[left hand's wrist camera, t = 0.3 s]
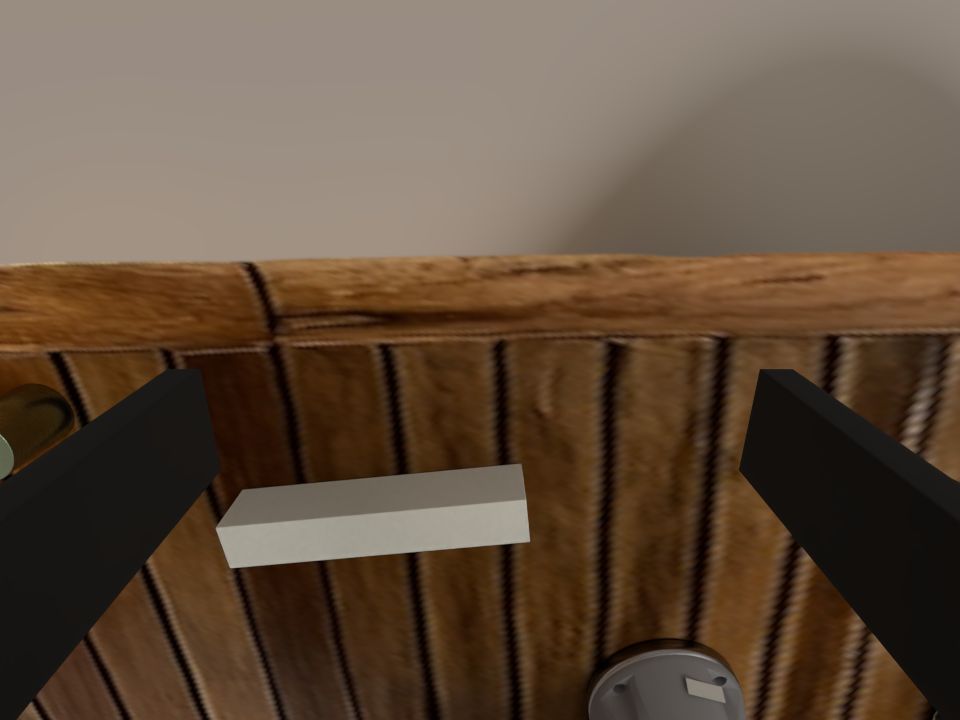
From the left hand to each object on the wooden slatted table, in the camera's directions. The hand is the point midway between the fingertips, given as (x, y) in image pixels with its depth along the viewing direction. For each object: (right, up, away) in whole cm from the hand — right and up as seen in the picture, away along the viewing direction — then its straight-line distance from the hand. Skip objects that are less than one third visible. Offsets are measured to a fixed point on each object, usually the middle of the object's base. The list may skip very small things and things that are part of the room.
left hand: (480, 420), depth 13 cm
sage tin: (-35, -3, +30) cm, 46 cm away
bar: (-8, -10, +33) cm, 35 cm away
